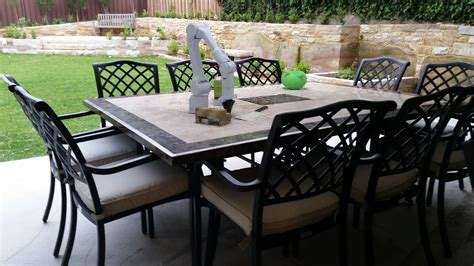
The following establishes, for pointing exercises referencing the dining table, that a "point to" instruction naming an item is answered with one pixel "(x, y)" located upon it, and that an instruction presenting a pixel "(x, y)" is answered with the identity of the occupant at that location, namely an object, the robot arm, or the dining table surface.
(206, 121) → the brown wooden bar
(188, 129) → the dining table surface
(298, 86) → the green cabbage
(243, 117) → the kitchen cleaver
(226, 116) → the wooden bridge block
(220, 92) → the tea box
